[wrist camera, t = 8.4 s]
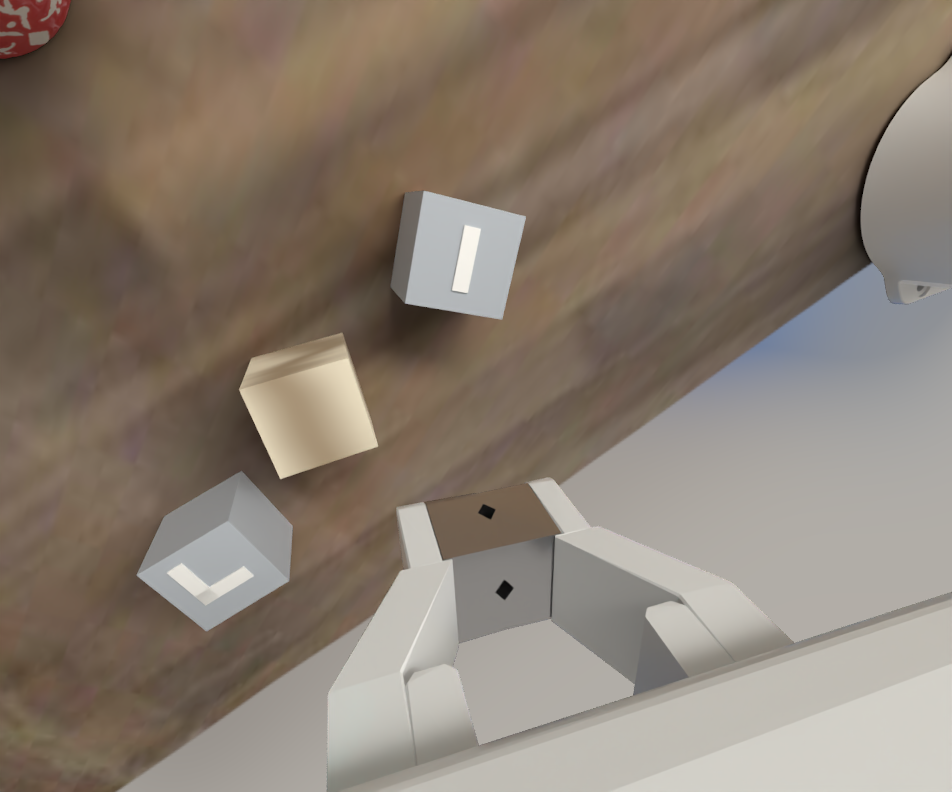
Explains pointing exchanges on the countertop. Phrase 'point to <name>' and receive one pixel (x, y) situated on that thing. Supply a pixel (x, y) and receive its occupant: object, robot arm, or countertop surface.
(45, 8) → the mug
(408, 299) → the grey block
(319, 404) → the maple block
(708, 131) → the countertop surface
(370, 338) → the countertop surface
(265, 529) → the grey block
